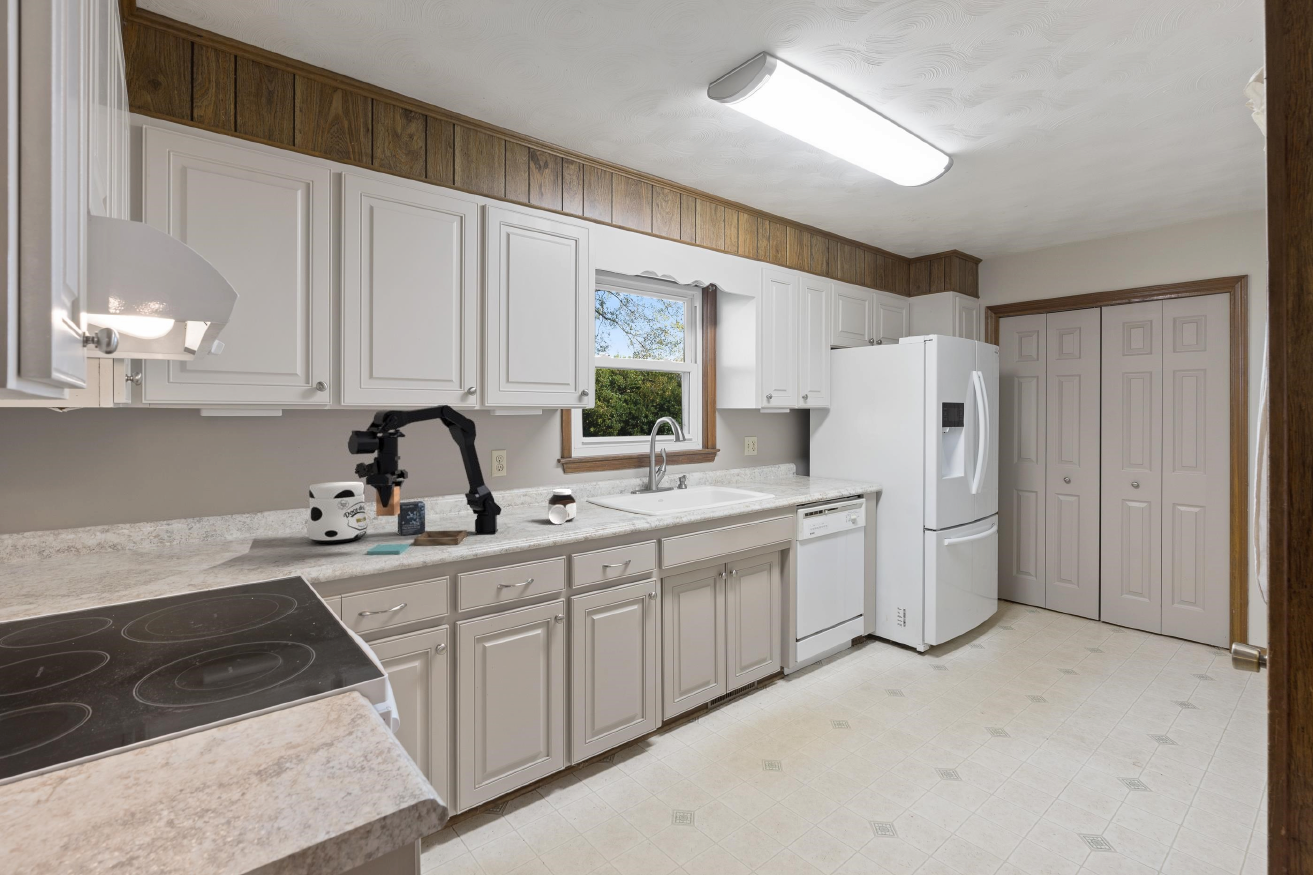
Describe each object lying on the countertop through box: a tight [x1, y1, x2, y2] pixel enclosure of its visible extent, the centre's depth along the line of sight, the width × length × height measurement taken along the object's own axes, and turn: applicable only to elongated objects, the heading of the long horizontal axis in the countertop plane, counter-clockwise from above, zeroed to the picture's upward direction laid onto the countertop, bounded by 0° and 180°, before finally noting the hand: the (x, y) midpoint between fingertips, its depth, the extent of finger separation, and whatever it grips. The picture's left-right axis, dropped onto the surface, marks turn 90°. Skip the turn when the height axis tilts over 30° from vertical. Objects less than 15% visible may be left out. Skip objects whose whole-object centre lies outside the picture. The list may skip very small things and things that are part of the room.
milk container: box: [306, 481, 369, 544], centre depth 195 cm, size 17×17×18 cm
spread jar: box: [547, 488, 577, 525], centre depth 228 cm, size 12×11×12 cm
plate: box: [366, 543, 410, 556], centre depth 181 cm, size 9×9×1 cm
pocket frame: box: [413, 529, 468, 547], centre depth 195 cm, size 13×13×2 cm
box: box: [397, 500, 426, 537], centre depth 207 cm, size 8×6×11 cm
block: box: [375, 486, 401, 517], centre depth 180 cm, size 5×5×8 cm
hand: (388, 506), depth 181 cm, fingers closed on block, 5 cm apart
